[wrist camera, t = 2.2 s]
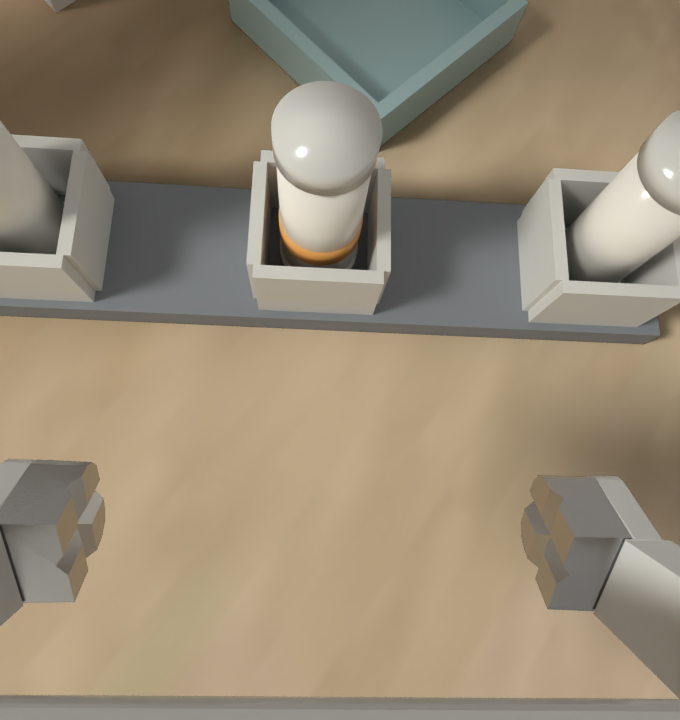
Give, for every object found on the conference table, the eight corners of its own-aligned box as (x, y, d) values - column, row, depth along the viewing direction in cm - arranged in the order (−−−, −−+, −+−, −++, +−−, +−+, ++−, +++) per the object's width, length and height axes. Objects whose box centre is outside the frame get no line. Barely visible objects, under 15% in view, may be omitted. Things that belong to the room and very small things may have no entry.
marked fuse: (264, 251, 29) (248, 122, 20) (320, 206, 30) (329, 62, 21) (316, 304, 29) (324, 198, 19) (371, 257, 30) (405, 132, 20)
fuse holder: (643, 344, 31) (714, 308, 26) (-37, 314, 29) (-112, 268, 24) (629, 225, 33) (693, 169, 28) (-11, 188, 31) (-76, 121, 26)
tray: (231, 20, 35) (225, -22, 32) (374, -78, 37) (380, -124, 35) (371, 153, 33) (378, 121, 30) (511, 41, 36) (528, 2, 33)
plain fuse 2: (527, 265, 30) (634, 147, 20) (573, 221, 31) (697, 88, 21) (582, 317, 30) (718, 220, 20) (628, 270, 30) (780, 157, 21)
